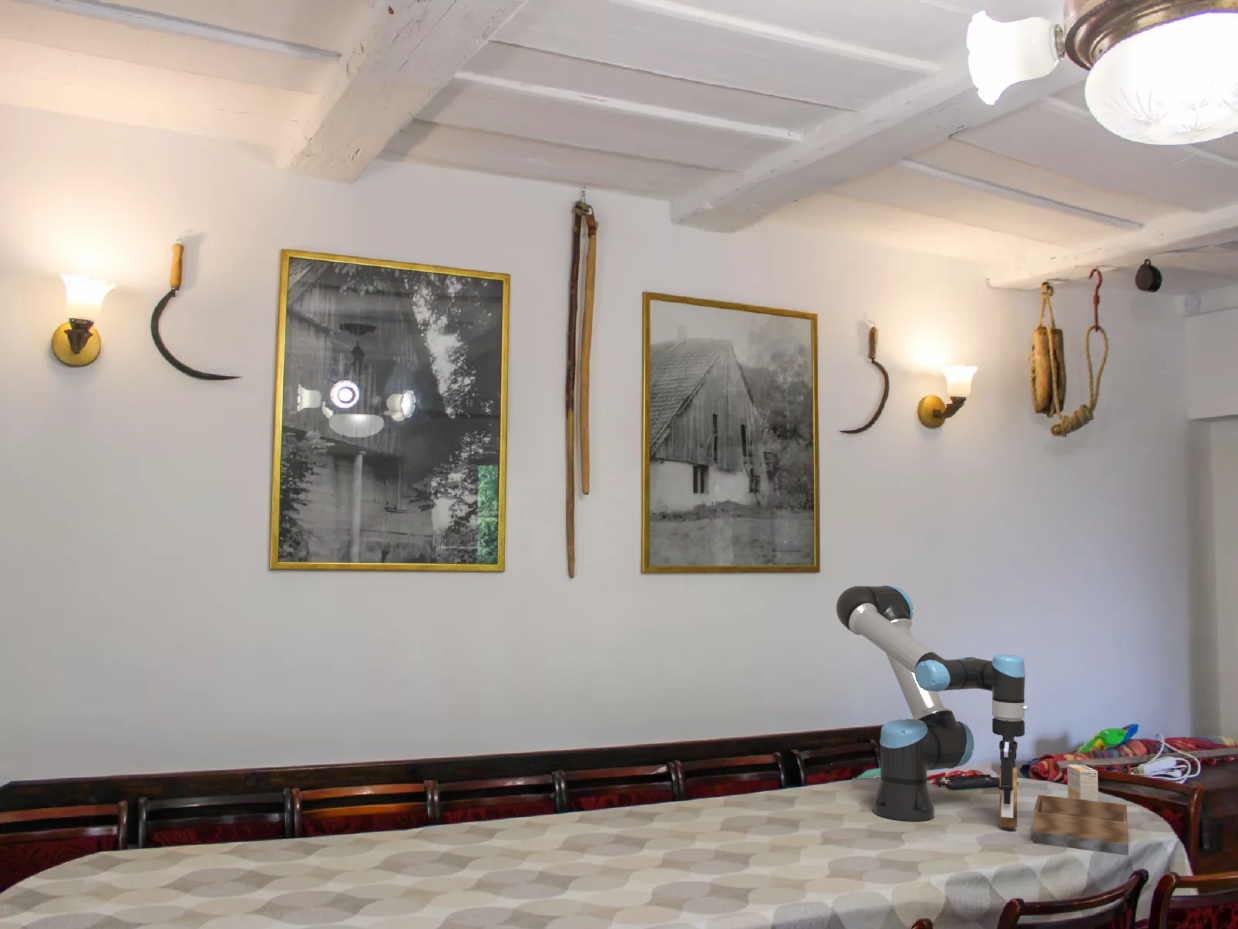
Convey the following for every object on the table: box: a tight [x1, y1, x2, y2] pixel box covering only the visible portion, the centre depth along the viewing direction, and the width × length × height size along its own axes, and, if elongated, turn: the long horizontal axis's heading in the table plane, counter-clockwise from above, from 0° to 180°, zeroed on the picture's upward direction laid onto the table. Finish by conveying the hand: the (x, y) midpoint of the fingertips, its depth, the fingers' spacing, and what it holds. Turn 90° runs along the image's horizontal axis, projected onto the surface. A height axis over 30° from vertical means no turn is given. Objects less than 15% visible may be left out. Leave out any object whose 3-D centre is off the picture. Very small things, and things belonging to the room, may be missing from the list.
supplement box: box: [1066, 764, 1099, 801], centre depth 268 cm, size 8×5×13 cm, turn 179°
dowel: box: [999, 765, 1018, 829], centre depth 256 cm, size 4×4×14 cm
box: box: [1032, 794, 1129, 856], centre depth 249 cm, size 20×20×7 cm
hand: (1008, 814), depth 256 cm, fingers closed on dowel, 4 cm apart
